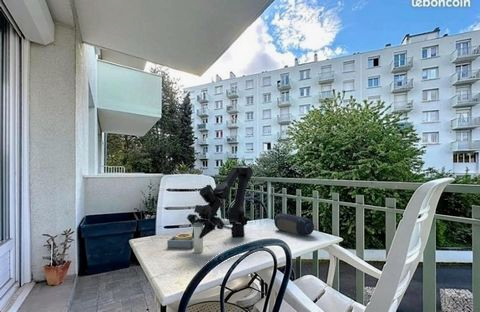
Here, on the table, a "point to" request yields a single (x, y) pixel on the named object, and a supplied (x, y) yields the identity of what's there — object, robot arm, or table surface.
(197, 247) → the cream and grey cylinder
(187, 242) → the walled box
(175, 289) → the table surface
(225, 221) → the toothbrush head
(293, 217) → the portable speaker
